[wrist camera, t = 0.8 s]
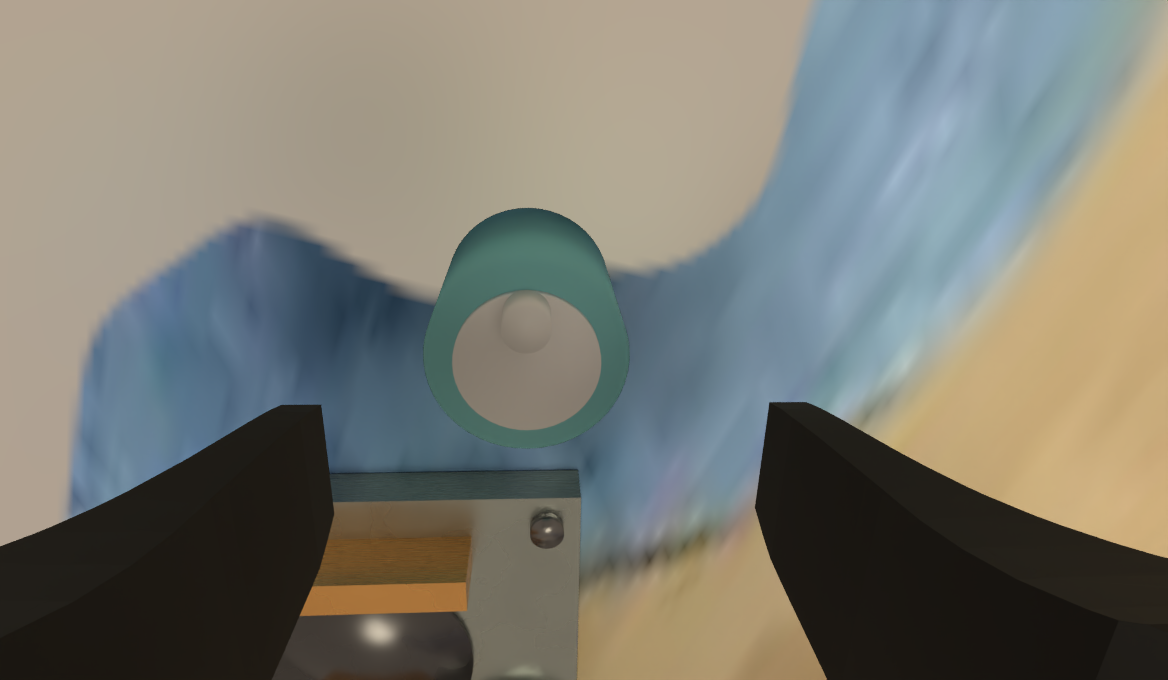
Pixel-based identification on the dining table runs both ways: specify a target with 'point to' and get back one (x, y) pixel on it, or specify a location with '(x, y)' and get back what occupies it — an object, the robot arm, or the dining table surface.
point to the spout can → (526, 332)
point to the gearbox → (444, 580)
